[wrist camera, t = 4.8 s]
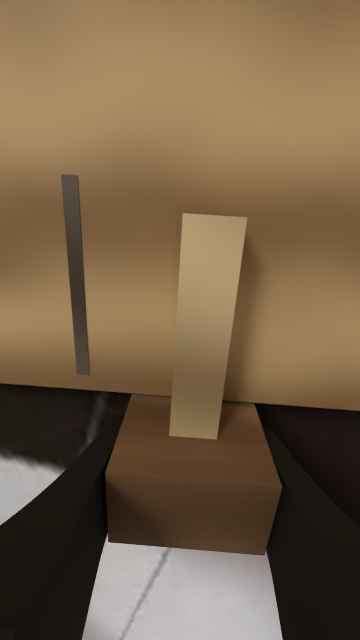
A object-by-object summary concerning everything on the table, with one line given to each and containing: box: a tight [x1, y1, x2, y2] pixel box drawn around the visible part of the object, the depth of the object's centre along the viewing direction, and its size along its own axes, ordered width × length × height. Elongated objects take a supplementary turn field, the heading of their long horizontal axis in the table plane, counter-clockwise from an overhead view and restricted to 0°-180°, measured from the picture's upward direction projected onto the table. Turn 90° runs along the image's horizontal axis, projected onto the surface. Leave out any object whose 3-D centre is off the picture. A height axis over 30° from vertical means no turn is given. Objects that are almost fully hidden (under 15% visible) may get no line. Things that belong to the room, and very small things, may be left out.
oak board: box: [0, 0, 360, 411], centre depth 10 cm, size 12×30×2 cm, turn 86°
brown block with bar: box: [105, 213, 282, 555], centre depth 10 cm, size 11×5×6 cm, turn 176°
